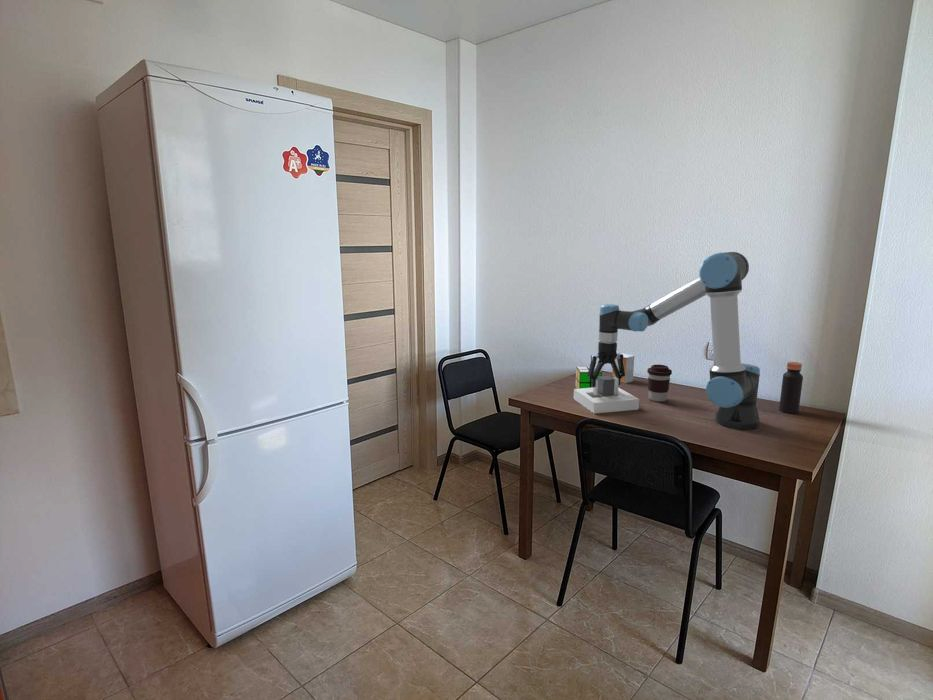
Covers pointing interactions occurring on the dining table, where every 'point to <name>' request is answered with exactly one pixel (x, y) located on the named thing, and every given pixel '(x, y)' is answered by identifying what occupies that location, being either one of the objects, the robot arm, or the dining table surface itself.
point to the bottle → (791, 388)
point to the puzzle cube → (583, 378)
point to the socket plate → (606, 401)
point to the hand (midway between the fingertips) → (605, 393)
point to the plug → (606, 386)
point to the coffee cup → (658, 382)
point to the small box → (626, 368)
